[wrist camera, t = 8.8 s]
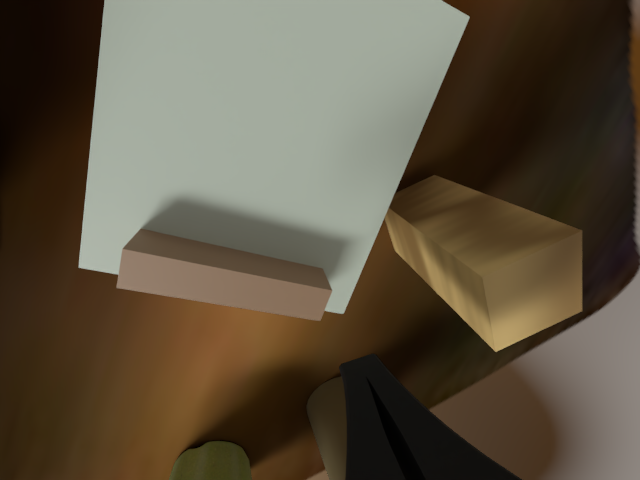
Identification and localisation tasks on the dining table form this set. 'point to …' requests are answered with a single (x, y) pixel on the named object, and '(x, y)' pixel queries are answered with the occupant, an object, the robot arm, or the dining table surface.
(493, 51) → the dining table surface
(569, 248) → the wooden block
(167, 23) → the lid
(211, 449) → the plant pot
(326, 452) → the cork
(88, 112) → the dining table surface
